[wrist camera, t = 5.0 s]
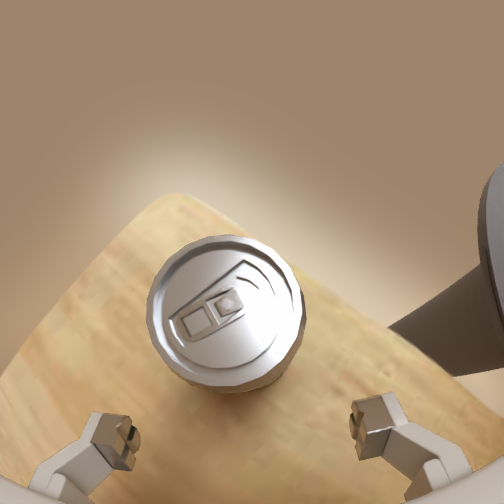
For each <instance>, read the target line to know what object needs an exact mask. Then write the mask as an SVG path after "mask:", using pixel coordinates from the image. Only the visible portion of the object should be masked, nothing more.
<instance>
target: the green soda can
mask: <svg viewBox="0 0 504 504" xmlns="http://www.w3.org/2000/svg"><path fill="white" fill-rule="evenodd" d="M306 320H307V319H306V311H305V302H304V295H303V293H302V291H301V289H300V287H299V284H298V282H297V280H296V278H295V276H294V274H293V273H292V271H291V269H290V267H289V266H288V265H287V264H286V263H285V262H284V261H283V260H282V258H281V257H280V256H279V255H278V254H277V253H276V252H275V251H274V250H273V249H271V248H269V247H267V246H265V245H263V244H261V243H259V242H258V241H256V240H254V239H251V238H245V237H240V236H235V235H220V236H209V237H206V238H203V239H200V240H198V241H195V242H193V243H190V244H188V245H186V246H185V247H183V248H182V249H181V250H179V251H178V252H177V253H175V254H174V255H173V256H171V257H170V258H169V259H168V260H167V261H166V263H165V264H164V265H163V267H162V268H161V269H160V271H159V272H158V273H157V275H156V276H155V278H154V281H153V284H152V286H151V289H150V292H149V295H148V297H147V313H146V323H147V326H148V330H149V334H150V337H151V341H152V344H153V346H154V347H155V348H156V350H157V351H158V353H159V354H160V356H161V357H162V359H163V360H164V362H165V363H166V364H167V365H168V367H169V368H170V369H171V371H172V372H174V373H175V374H176V375H178V376H179V377H180V378H182V379H183V380H185V381H186V382H187V383H189V384H190V385H191V386H194V387H197V388H201V389H204V390H207V391H210V392H214V393H241V392H247V391H251V390H256V389H260V388H262V387H265V386H267V385H270V384H272V383H273V382H274V381H275V380H277V379H278V378H279V377H280V376H281V375H282V374H283V372H284V371H285V369H286V368H287V366H288V365H289V363H290V362H291V360H292V358H293V357H294V355H295V354H296V352H297V350H298V349H299V347H300V345H301V343H302V338H303V334H304V329H305V325H306Z"/></svg>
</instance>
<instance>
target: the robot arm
mask: <svg viewBox="0 0 504 504" xmlns="http://www.w3.org/2000/svg"><path fill="white" fill-rule="evenodd" d="M351 409H352V412H353V413H352V414H351V415H350V418H349V427H350V432H351V436H352V438H353V439H355V440H356V445H355V449H356V452H357V455H358V458H359V461H360V460H365V459H369V458H374V457H378V456H381V457H382V458H384V459H385V460H386V461H387V462H389V463H390V464H391V465H392V466H394V467H395V468H396V469H397V470H399V471H400V472H401V473H403V474H404V475H405V476H407V477H408V478H409V479H410V480H412V481H413V482H412V483H411V485H410V486H409V488H408V489H407V491H406V492H405V493H404V497H405V500H406V502H403V503H401V504H504V455H502V456H500V457H499V458H497V459H496V460H494V461H492V462H491V463H489V464H487V465H485V466H484V467H482V468H480V469H478V470H476V471H474V472H473V470H472V468H471V466H470V464H469V462H468V460H467V459H466V457H465V455H464V453H463V451H462V449H461V447H460V446H458V445H456V444H454V443H452V442H450V441H448V440H446V439H444V438H442V437H440V436H438V435H436V434H435V433H433V432H431V431H429V430H427V429H425V428H424V427H422V426H420V425H418V424H416V423H414V422H410V423H409V421H408V419H407V417H406V415H405V413H404V411H403V409H402V407H401V405H400V403H399V401H398V399H397V397H396V395H395V393H393V392H389V393H385V394H381V395H376V396H372V397H368V398H363V399H359V400H355V401H353V402H352V406H351ZM131 424H132V420H131V418H130V417H129V416H126V415H118V414H110V413H102V412H95V411H94V412H93V413H92V414H91V416H90V418H89V420H88V422H87V424H86V426H85V428H84V430H83V432H82V435H81V437H80V439H79V441H78V440H75V441H74V442H72V443H71V444H69V445H68V446H67V447H65V448H64V449H62V450H61V451H59V452H58V453H56V454H55V455H53V456H52V457H50V458H49V459H47V460H46V461H44V462H43V463H41V464H40V465H38V467H37V469H36V471H35V473H34V475H33V477H32V479H31V481H30V484H29V486H28V488H26V487H24V486H22V485H20V484H18V483H16V482H14V481H12V480H10V479H8V478H6V477H4V476H2V475H0V504H95V503H94V502H93V501H91V500H90V499H89V498H88V497H87V496H88V495H89V494H90V493H91V492H92V491H93V490H94V489H95V488H96V487H97V486H98V485H99V484H100V483H101V482H102V481H103V480H104V479H105V478H106V477H107V476H108V475H109V474H110V473H111V472H112V471H113V470H114V469H118V470H125V471H133V468H134V465H135V461H136V457H135V455H134V453H136V452H137V451H138V450H139V447H140V434H139V432H138V430H137V428H135V427H134V426H133V425H131Z"/></svg>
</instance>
